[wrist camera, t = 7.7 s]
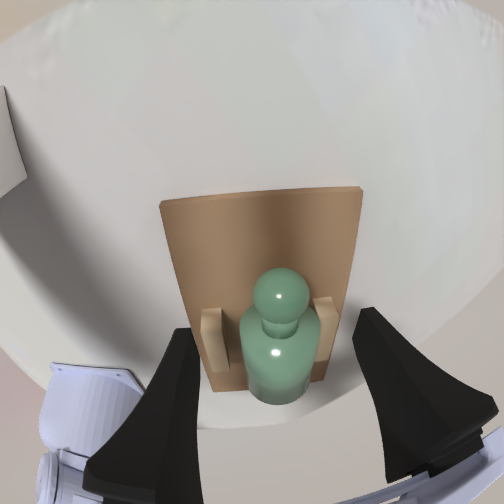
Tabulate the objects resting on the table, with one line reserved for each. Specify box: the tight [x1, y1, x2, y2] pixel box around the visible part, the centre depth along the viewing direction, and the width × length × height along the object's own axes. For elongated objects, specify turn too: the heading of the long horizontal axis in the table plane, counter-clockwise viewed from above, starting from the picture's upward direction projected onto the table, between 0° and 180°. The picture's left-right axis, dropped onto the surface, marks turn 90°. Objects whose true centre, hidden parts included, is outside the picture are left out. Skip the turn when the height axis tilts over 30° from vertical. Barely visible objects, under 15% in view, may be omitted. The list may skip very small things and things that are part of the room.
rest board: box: [159, 187, 363, 392], centre depth 18 cm, size 10×18×2 cm, turn 3°
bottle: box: [239, 267, 321, 405], centre depth 16 cm, size 4×4×9 cm
